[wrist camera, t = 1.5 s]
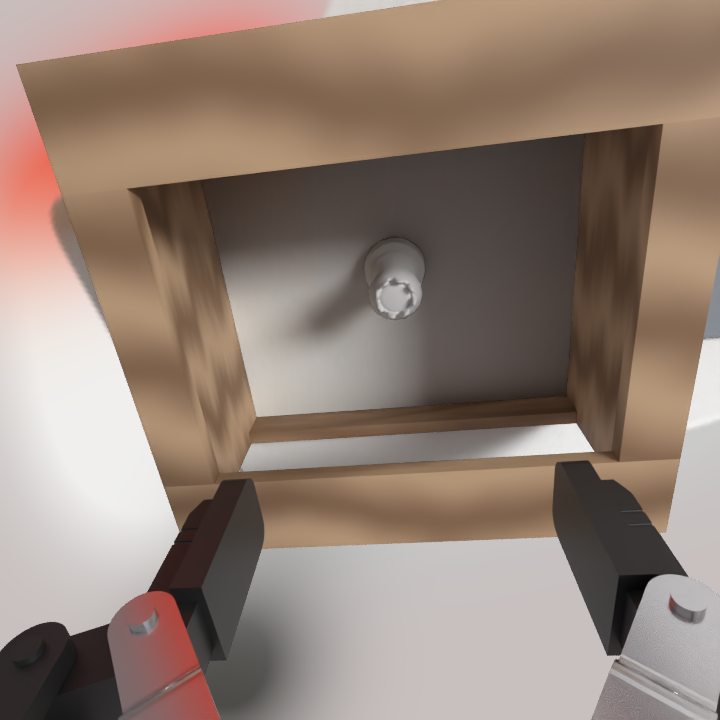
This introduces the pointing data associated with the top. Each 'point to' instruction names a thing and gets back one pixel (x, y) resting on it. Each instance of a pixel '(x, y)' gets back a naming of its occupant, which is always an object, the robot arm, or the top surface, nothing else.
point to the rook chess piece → (394, 277)
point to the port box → (386, 139)
